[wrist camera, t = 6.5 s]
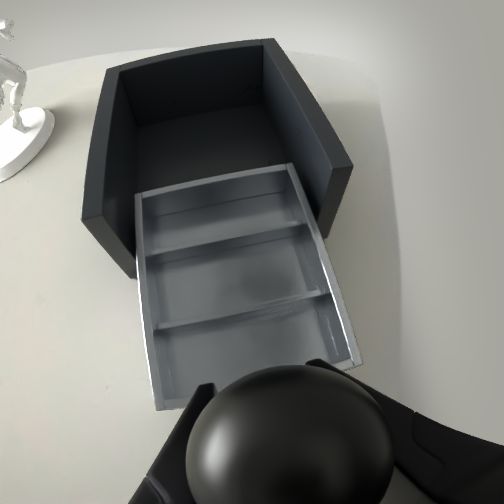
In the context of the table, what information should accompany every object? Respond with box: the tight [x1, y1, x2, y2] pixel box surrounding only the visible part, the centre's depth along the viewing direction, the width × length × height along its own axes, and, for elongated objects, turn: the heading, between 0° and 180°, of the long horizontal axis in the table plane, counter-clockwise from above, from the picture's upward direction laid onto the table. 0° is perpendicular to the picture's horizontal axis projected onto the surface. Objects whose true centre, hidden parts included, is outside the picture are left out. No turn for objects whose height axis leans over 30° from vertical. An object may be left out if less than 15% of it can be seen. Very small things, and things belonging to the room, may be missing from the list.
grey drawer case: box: [81, 38, 353, 279], centre depth 17 cm, size 12×11×6 cm
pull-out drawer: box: [134, 163, 395, 504], centre depth 9 cm, size 13×8×11 cm, turn 13°
